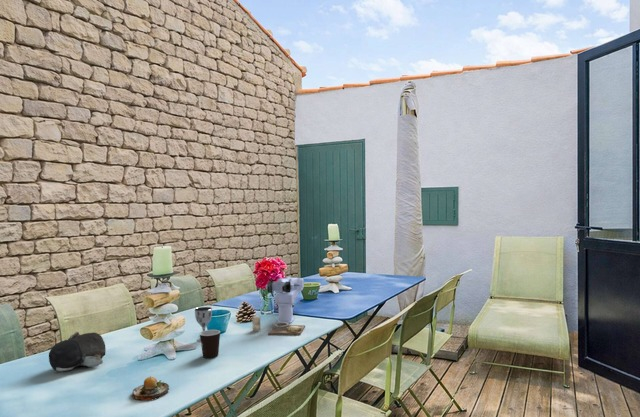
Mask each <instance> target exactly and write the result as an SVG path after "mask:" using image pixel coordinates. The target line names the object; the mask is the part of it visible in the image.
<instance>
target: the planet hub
mask: <svg viewBox="0 0 640 417" xmlns="http://www.w3.org/2000/svg"><path fill="white" fill-rule="evenodd" d="M251 319H252V322H251V323H252V332H255V333H256V332H261V329H262V328H261V316H260V315H253V316H252V318H251Z"/></svg>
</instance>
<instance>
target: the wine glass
mask: <svg viewBox="0 0 640 417" xmlns="http://www.w3.org/2000/svg"><path fill="white" fill-rule="evenodd" d="M212 315H213V309H212V306H200V307H196V308H194V318H195V321H196V323H197V324H199V325H200V327H201V329H202V332H203V331H206V328H207V326H208V324H209V323H210V322H211V320H212ZM196 342H197V343H201V340H200V338H197V339H196Z"/></svg>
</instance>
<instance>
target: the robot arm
mask: <svg viewBox="0 0 640 417" xmlns="http://www.w3.org/2000/svg"><path fill="white" fill-rule="evenodd" d="M304 287H305V280H304V278H303V277H291V276H289V275H288V276H285V278H277V281H275V282H272V281H267V284H266V285H265V289H266V290H267V293H270V294H271V293H273V291H274V292H276V294H275V296H274V301H275V304H276V305H277V307H278V320H277V321H276V323H280V322H287V323H289V324H292V323H293V321H294V319H295V317H294V315H293V310H294V309H293V305H294V303H295V300H296V297H298V294H299V293H300V292H301V291H303V290H304Z"/></svg>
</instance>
